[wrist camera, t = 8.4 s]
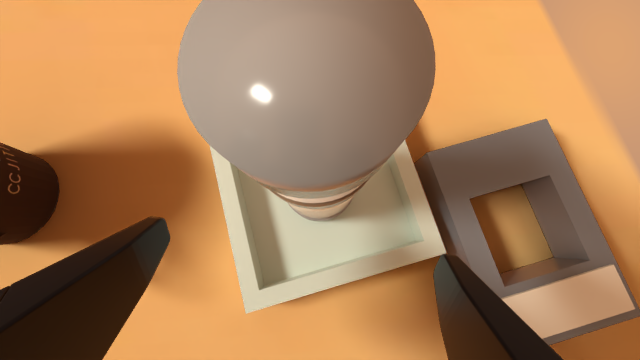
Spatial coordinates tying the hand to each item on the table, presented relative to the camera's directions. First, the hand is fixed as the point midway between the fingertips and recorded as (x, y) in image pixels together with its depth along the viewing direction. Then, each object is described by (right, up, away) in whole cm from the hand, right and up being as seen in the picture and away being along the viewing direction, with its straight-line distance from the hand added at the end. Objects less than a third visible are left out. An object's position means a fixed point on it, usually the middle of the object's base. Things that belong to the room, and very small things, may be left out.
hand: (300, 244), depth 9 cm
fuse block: (+13, -1, +10) cm, 16 cm away
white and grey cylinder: (+1, +2, +10) cm, 10 cm away
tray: (+1, +1, +10) cm, 10 cm away
